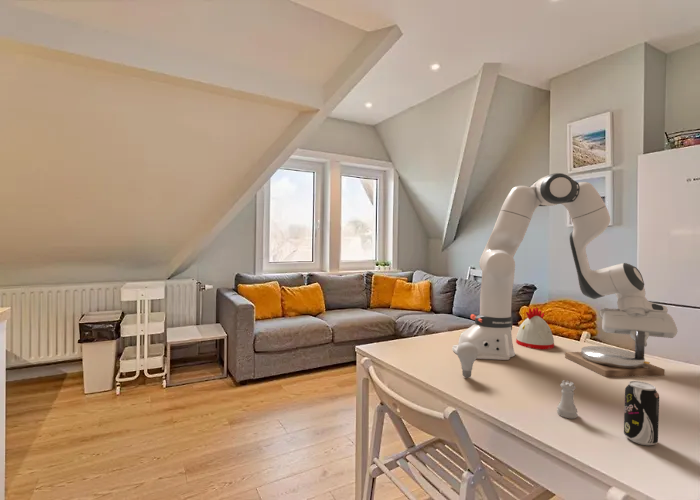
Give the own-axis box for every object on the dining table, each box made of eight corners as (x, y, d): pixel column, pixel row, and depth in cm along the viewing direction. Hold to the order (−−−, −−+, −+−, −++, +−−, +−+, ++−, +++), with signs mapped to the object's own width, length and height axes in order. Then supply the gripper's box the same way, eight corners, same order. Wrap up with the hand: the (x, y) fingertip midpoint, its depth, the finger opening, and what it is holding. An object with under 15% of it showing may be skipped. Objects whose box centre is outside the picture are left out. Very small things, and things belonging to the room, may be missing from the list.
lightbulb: (477, 375, 116) (477, 340, 115) (477, 382, 110) (477, 346, 110) (456, 373, 118) (457, 338, 117) (455, 380, 112) (456, 344, 112)
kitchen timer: (509, 340, 157) (509, 305, 157) (536, 339, 160) (537, 304, 160) (532, 350, 144) (533, 311, 143) (562, 348, 147) (563, 310, 146)
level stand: (605, 376, 116) (605, 369, 116) (565, 357, 135) (565, 351, 135) (664, 375, 117) (664, 368, 117) (616, 356, 136) (616, 350, 136)
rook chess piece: (552, 410, 92) (553, 379, 92) (569, 410, 92) (570, 378, 92) (564, 419, 88) (565, 386, 87) (582, 419, 88) (583, 385, 88)
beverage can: (616, 433, 81) (618, 379, 81) (641, 433, 82) (643, 379, 81) (638, 448, 76) (640, 390, 75) (665, 447, 76) (667, 389, 76)
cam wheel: (574, 358, 126) (575, 326, 126) (588, 348, 138) (589, 319, 138) (645, 373, 113) (646, 337, 112) (653, 360, 125) (654, 328, 125)
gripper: (600, 303, 132) (605, 336, 124) (672, 307, 124) (683, 343, 115) (597, 312, 137) (602, 346, 128) (667, 317, 128) (678, 353, 120)
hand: (641, 345), depth 122 cm, fingers closed
